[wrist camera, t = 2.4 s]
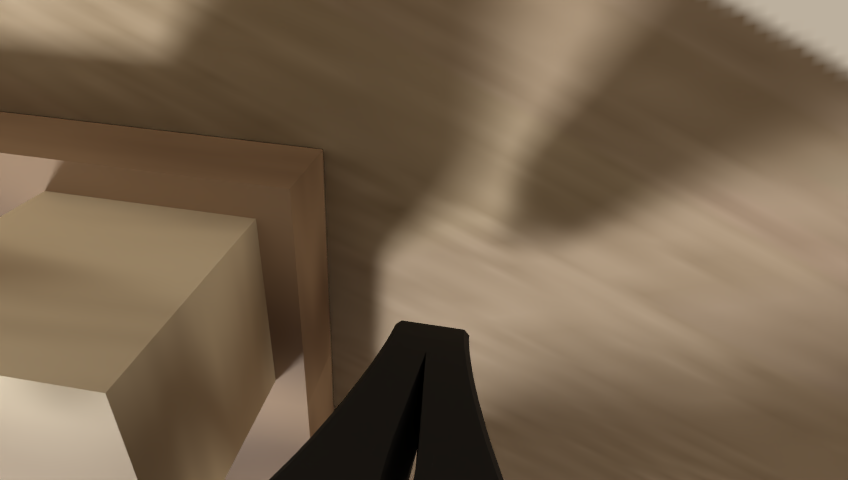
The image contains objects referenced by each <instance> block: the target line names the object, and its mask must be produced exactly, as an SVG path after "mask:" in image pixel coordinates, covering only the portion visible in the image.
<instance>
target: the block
mask: <svg viewBox="0 0 848 480" xmlns="http://www.w3.org/2000/svg"><path fill="white" fill-rule="evenodd" d="M275 381H276V378H275V370H274V362H273V354H272V346H271V338H270V330H269V321H268V313H267V305H266V297H265V289H264V281H263V273H262V264H261V256H260V248H259V240H258V232H257V224H256V219H254V218H247V217H239V216H232V215H224V214H216V213H209V212H201V211H193V210H186V209H178V208H171V207H163V206H155V205H148V204H140V203H132V202H125V201H117V200H110V199H102V198H94V197H87V196H79V195H71V194H64V193H56V192H48V191H44V192H42V193H40V194H39V195H37V196H35V197H33V198H32V199H30V200H28V201H27V202H25V203H23V204H21V205H20V206H18V207H16V208H14V209H13V210H11V211H9V212H8V213H6V214H4V215H2V216H1V217H0V480H225V478H226V476H227V474H228V472H229V470H230V468H231V466H232V464H233V462H234V460H235V458H236V456H237V454H238V452H239V451H240V449H241V447H242V445H243V443H244V441H245V439H246V437H247V435H248V433H249V431H250V429H251V427H252V425H253V423H254V422H255V420H256V418H257V416H258V414H259V412H260V410H261V408H262V406H263V404H264V402H265V400H266V398H267V396H268V394H269V393H270V391H271V389H272V387H273V385H274V383H275Z"/></svg>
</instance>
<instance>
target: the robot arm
mask: <svg viewBox="0 0 848 480" xmlns="http://www.w3.org/2000/svg"><path fill="white" fill-rule="evenodd" d="M416 451H417V459H416V470H415V475H414V480H503V477H502V474H501V471H500V469H499V466H498V463H497V460H496V457H495V454H494V451H493V448H492V445H491V442H490V439H489V436H488V433H487V429H486V426H485V422H484V418H483V415H482V411H481V408H480V404H479V400H478V396H477V392H476V388H475V383H474V378H473V373H472V367H471V361H470V352H469V335H468V334H467V333H466V331H465V330H462V329H455V328H448V327H442V326H435V325H428V324H421V323H414V322H408V321H400V322H399V323H397V324H396V325H395V327H394V329H393V331H392V332H391V334H390V336H389V338H388V339H387V341H386V342H385V344H384V346H383V347H382V349H381V350H380V352H379V353H378V355H377V356H376V357H375V359H374V360H373V362H372V363H371V365H370V366H369V367H368V369H367V370H366V372H365V373H364V374H363V375H362V377H361V378H360V379H359V381H358V382H357V383H356V384H355V386H354V387H353V388H352V390H351V391H350V392H349V394H348V395H347V396H346V397H345V399H344V400H343V401H342V402H341V403H340V405H339V406H338V407H337V408H336V409H335V410H334V412H333V413H332V414H331V415H330V416H329V417H328V418H327V420H326V421H325V422H324V423H323V424H322V425H321V426H320V428H319V429H318V430H317V431H316V432H315V433H314V434H313V435H312V437H311V438H310V439H309V440H308V441H307V442H306V443H305V444H304V445H303V446H302V447H301V448H300V449H299V450H298V451H297V452H296V453H295V454H294V455H293V456H292V457H291V458H290V460H289V461H288V462H286V463H285V464H284V465H283V466H282V467H281V468H280V469H279V470H278V471H277V472H276V473H275V474H274V475H273V476H272V477H271V478H270V479H269V480H409V477H410V473H411V470H412V466H413V462H414V459H415V455H416Z"/></svg>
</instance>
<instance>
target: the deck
mask: <svg viewBox="0 0 848 480" xmlns="http://www.w3.org/2000/svg"><path fill="white" fill-rule="evenodd" d="M44 191H48V192H56V193H64V194H71V195H79V196H87V197H94V198H102V199H110V200H117V201H125V202H132V203H140V204H148V205H155V206H163V207H171V208H178V209H186V210H193V211H201V212H209V213H216V214H224V215H232V216H239V217H247V218H254V219H256V224H257V232H258V240H259V248H260V256H261V264H262V273H263V281H264V289H265V297H266V305H267V313H268V321H269V330H270V338H271V346H272V354H273V362H274V370H275V378H276V381H275V383H274V385H273V387H272V389H271V391H270V393H269V394H268V396H267V398H266V400H265V402H264V404H263V406H262V408H261V410H260V412H259V414H258V416H257V418H256V420H255V422H254V423H253V425H252V427H251V429H250V431H249V433H248V435H247V437H246V439H245V441H244V443H243V445H242V447H241V449H240V451H239V452H238V454H237V456H236V458H235V460H234V462H233V464H232V466H231V468H230V470H229V472H228V474H227V476H226V478H225V480H269V479H270V478H271V477H272V476H273V475H274V474H275V473H276V472H277V471H278V470H279V469H280V468H281V467H282V466H283V465H284V464H285V463H286V462H288V461H289V460H290V458H291V457H292V456H293V455H294V454H295V453H296V452H297V451H298V450H299V449H300V448H301V447H302V446H303V445H304V444H305V443H306V442H307V441H308V440H309V439H310V438H311V437H312V435H313V434H314V433H315V432H316V431H317V430H318V429H319V428H320V426H321V425H322V424H323V423H324V422H325V421H326V420H327V418H328V417H329V416H330V415H331V414H332V413H333V412H334V404H333V380H332V357H331V333H330V309H329V285H328V261H327V238H326V214H325V190H324V166H323V149H314V148H306V147H297V146H289V145H280V144H272V143H263V142H255V141H246V140H238V139H229V138H220V137H212V136H203V135H195V134H186V133H178V132H169V131H161V130H152V129H144V128H135V127H127V126H118V125H110V124H101V123H92V122H84V121H75V120H67V119H58V118H50V117H41V116H33V115H24V114H16V113H7V112H0V217H1V216H2V215H4V214H6V213H8V212H9V211H11V210H13V209H14V208H16V207H18V206H20V205H21V204H23V203H25V202H27V201H28V200H30V199H32V198H33V197H35V196H37V195H39V194H40V193H42V192H44Z"/></svg>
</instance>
